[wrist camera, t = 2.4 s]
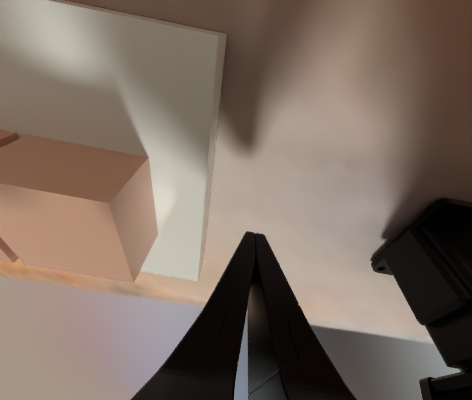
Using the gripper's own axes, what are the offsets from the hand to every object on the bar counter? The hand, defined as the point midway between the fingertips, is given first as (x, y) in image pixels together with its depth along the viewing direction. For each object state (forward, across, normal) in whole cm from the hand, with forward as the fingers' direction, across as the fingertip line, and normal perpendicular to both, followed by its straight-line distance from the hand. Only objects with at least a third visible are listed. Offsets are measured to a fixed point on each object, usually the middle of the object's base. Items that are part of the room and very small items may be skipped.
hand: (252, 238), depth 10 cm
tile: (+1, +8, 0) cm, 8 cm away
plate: (+3, +10, 0) cm, 10 cm away
